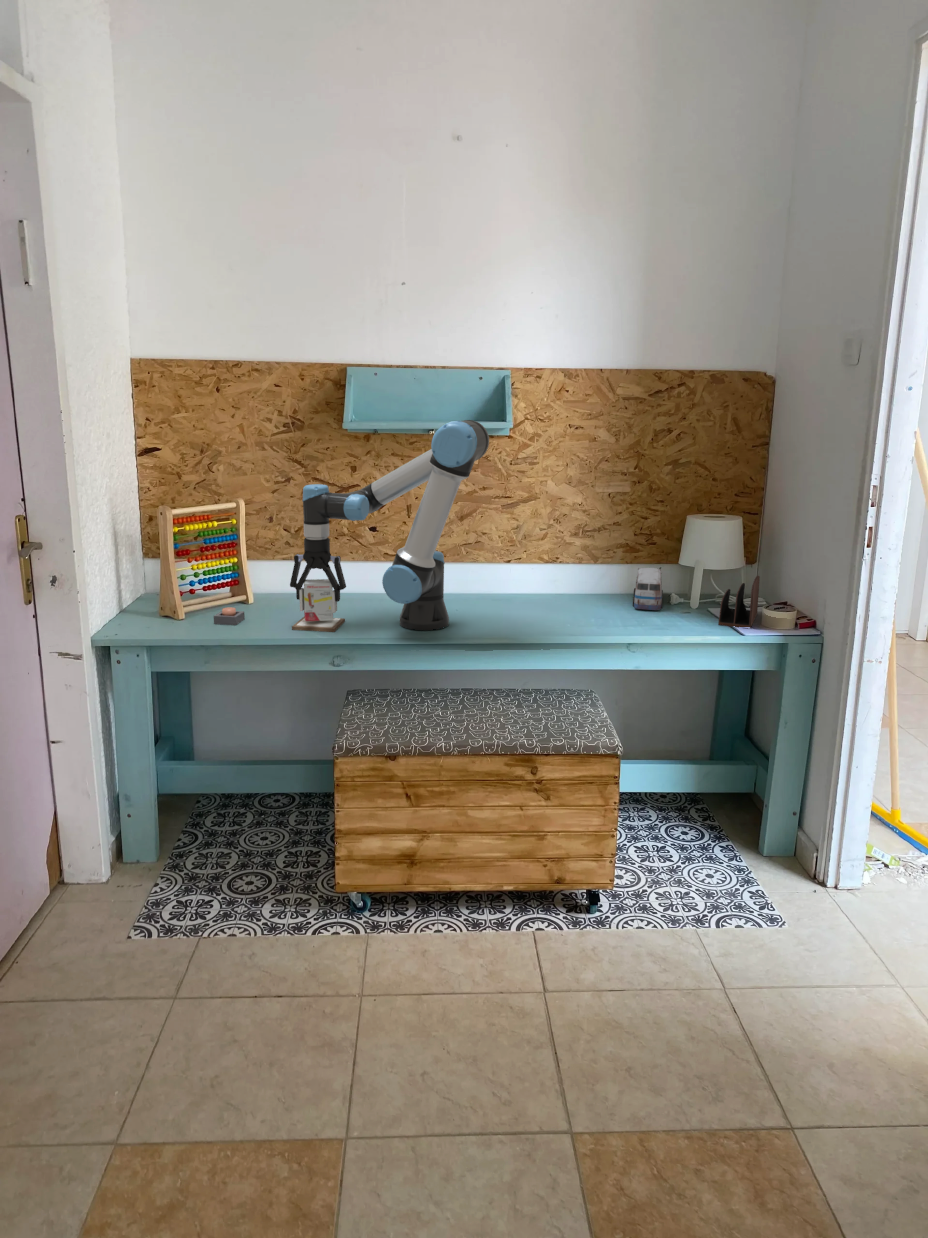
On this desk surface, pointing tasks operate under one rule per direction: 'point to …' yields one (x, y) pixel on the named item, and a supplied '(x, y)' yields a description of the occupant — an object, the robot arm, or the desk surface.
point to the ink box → (318, 600)
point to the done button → (229, 611)
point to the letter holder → (739, 607)
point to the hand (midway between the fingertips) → (318, 610)
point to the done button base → (229, 618)
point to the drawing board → (319, 625)
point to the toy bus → (648, 589)
